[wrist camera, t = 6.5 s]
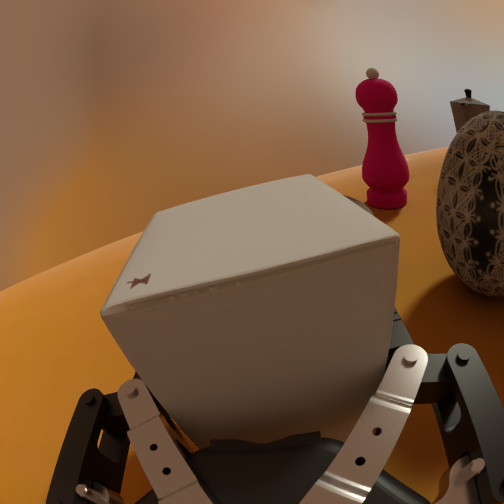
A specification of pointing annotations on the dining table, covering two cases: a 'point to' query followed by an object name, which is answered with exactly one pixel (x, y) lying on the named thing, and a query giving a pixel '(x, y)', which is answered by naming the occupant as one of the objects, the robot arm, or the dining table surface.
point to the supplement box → (260, 311)
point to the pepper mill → (382, 144)
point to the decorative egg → (474, 204)
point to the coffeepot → (466, 109)
